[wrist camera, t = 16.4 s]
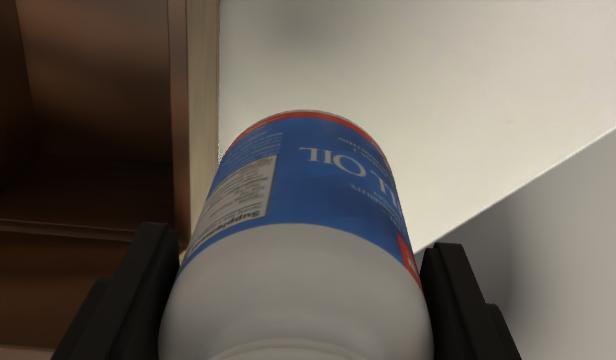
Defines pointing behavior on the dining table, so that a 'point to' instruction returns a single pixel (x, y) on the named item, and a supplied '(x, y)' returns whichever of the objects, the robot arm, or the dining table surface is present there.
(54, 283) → the lid
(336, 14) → the dining table surface
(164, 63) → the chest
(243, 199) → the pill bottle
